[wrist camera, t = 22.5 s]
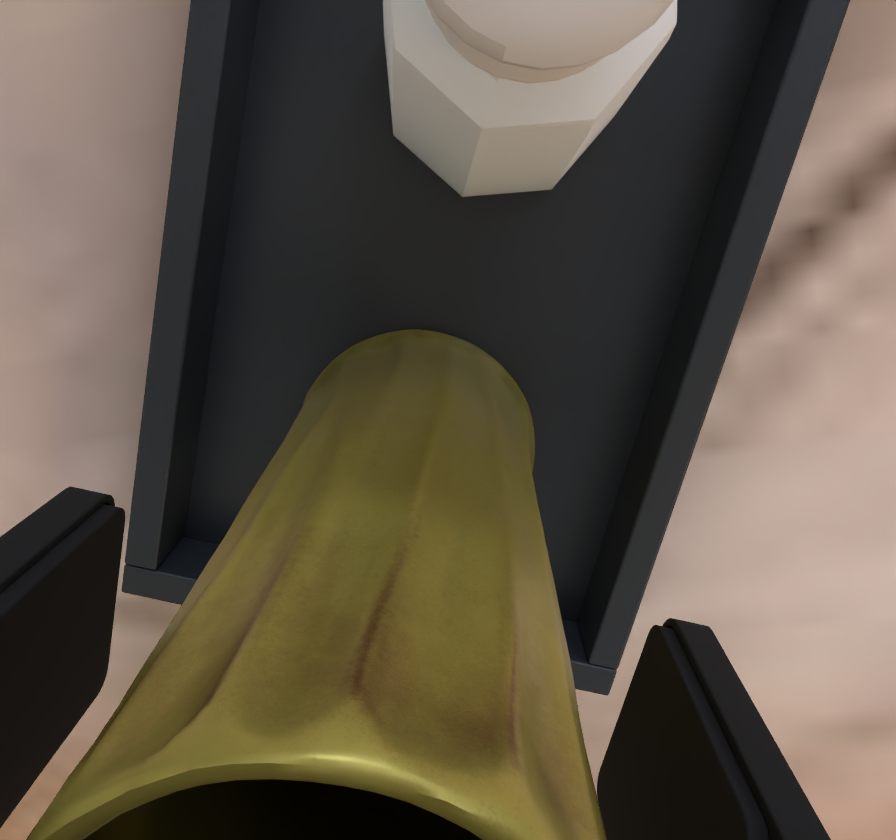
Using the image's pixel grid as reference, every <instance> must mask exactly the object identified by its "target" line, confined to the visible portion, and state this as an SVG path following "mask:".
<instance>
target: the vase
mask: <svg viewBox="0 0 896 840" xmlns="http://www.w3.org/2000/svg"><path fill="white" fill-rule="evenodd" d="M534 456H535V437H534V426H533V421H532V416H531V412H530V409H529V406H528V403H527V401H526V399H525V397H524V395H523V393H522V391H521V390H520V388H519V387H518V385H517V383H516V382H515V381H514V380H513V378H512V377H511V376H510V374H509V373H508V372H507V371H506V370H505V369H504V368H503V366H502V365H501V364H500V363H498V362H497V361H496V360H495V359H494V358H493V357H492V356H490V355H489V354H488V353H486V352H485V351H484V350H482V349H480V348H479V347H477V346H475V345H474V344H472V343H470V342H468V341H466V340H463V339H460V338H458V337H455V336H452V335H448V334H445V333H441V332H436V331H430V330H420V329H409V330H399V331H393V332H388V333H384V334H380V335H377V336H374V337H371V338H368V339H366V340H363V341H361V342H359V343H357V344H355V345H353V346H351V347H350V348H348V349H347V350H345V351H344V352H343V353H341V354H340V355H339V356H337V357H336V358H335V359H334V360H332V361H331V362H330V364H329V365H328V366H327V367H326V368H325V369H324V370H323V371H322V373H321V374H320V375H319V376H318V378H317V379H316V380H315V382H314V383H313V385H312V386H311V388H310V389H309V391H308V392H307V394H306V397H305V399H304V402H303V406H302V409H301V411H300V413H299V414H298V416H297V418H296V420H295V421H294V423H293V425H292V427H291V428H290V430H289V432H288V434H287V436H286V438H285V439H284V441H283V443H282V444H281V446H280V447H279V449H278V450H277V452H276V454H275V455H274V457H273V458H272V460H271V461H270V463H269V464H268V466H267V468H266V469H265V471H264V472H263V474H262V476H261V477H260V479H259V480H258V482H257V483H256V485H255V487H254V488H253V490H252V491H251V493H250V495H249V496H248V498H247V500H246V501H245V503H244V505H243V506H242V508H241V510H240V511H239V513H238V515H237V516H236V518H235V520H234V522H233V523H232V525H231V527H230V529H229V530H228V532H227V534H226V535H225V537H224V539H223V540H222V542H221V543H220V545H219V547H218V548H217V550H216V551H215V553H214V554H213V556H212V557H211V559H210V560H209V562H208V563H207V565H206V566H205V568H204V570H203V571H202V573H201V574H200V576H199V578H198V579H197V581H196V583H195V584H194V586H193V588H192V589H191V591H190V593H189V594H188V596H187V598H186V599H185V601H184V602H183V604H182V606H181V607H180V609H179V610H178V612H177V614H176V615H175V617H174V618H173V620H172V622H171V623H170V625H169V626H168V628H167V630H166V631H165V633H164V634H163V636H162V637H161V639H160V641H159V642H158V644H157V645H156V647H155V648H154V650H153V651H152V653H151V655H150V656H149V658H148V659H147V661H146V662H145V664H144V665H143V667H142V669H141V670H140V672H139V673H138V675H137V676H136V678H135V680H134V681H133V683H132V685H131V686H130V688H129V690H128V691H127V693H126V695H125V696H124V698H123V700H122V701H121V703H120V705H119V706H118V708H117V709H116V711H115V712H114V714H113V715H112V717H111V718H110V719H109V721H108V722H107V724H106V725H105V727H104V728H103V730H102V731H101V733H100V735H99V736H98V738H97V739H96V741H95V742H94V744H93V745H92V746H91V748H90V749H89V750H88V752H87V753H86V754H85V756H84V757H83V758H82V760H81V761H80V762H79V764H78V765H77V766H76V768H75V769H74V770H73V772H72V773H71V774H70V775H69V777H68V778H67V780H66V781H65V783H64V784H63V786H62V787H61V789H60V791H59V792H58V794H57V795H56V797H55V798H54V800H53V801H52V803H51V804H50V806H49V807H48V808H47V810H46V811H45V813H44V814H43V816H42V817H41V819H40V820H39V822H38V823H37V824H36V826H35V827H34V829H33V830H32V832H31V833H30V835H29V836H28V838H27V839H26V840H606V836H605V831H604V826H603V822H602V817H601V812H600V808H599V804H598V800H597V795H596V791H595V787H594V783H593V779H592V774H591V770H590V766H589V762H588V758H587V753H586V749H585V744H584V739H583V734H582V729H581V724H580V718H579V712H578V705H577V699H576V692H575V685H574V679H573V673H572V667H571V662H570V657H569V652H568V647H567V642H566V638H565V633H564V628H563V624H562V619H561V614H560V609H559V604H558V599H557V594H556V589H555V584H554V579H553V574H552V569H551V565H550V560H549V556H548V551H547V546H546V542H545V536H544V530H543V525H542V521H541V517H540V512H539V508H538V503H537V497H536V492H535V486H534V481H533V475H532V472H533V466H534Z"/></svg>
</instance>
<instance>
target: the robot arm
mask: <svg viewBox="0 0 896 840" xmlns="http://www.w3.org/2000/svg"><path fill="white" fill-rule="evenodd" d="M124 525H125V511H124V510H123V508H119V507H115V503H114V499H113V497H112V496H111V495H107V494H102V493H98V492H93V491H89V490H84V489H79V488H75V487H68V488H66V489H65V490H63V491H62V492H61V493H59V494H58V495H56V496H55V497H54V498H52V499H51V500H50V501H48V502H47V503H46V504H44V505H43V506H42V507H40V508H39V509H38V510H36V511H35V512H34V513H32V514H31V515H29V516H28V517H27V518H25V519H24V520H23V521H21V522H20V523H19V524H17V525H16V526H15V527H13V528H12V529H11V530H9V531H8V532H6V533H5V534H4V535H2V536H1V537H0V828H1V826H2V825H3V824H4V822H5V821H6V820H7V818H8V817H9V816H10V814H11V813H12V811H13V810H14V809H15V807H16V806H17V805H18V803H19V802H20V801H21V799H22V798H23V796H24V795H25V794H26V792H27V791H28V790H29V788H30V787H31V785H32V784H33V783H34V781H35V780H36V779H37V777H38V776H39V775H40V773H41V772H42V770H43V769H44V768H45V766H46V765H47V764H48V762H49V761H50V760H51V758H52V757H53V755H54V754H55V753H56V751H57V750H58V749H59V747H60V746H61V744H62V743H63V742H64V740H65V739H66V738H67V736H68V735H69V734H70V732H71V731H72V729H73V728H74V727H75V725H76V724H77V723H78V721H79V720H80V719H81V717H82V716H83V714H84V713H85V712H86V710H87V709H88V708H89V706H90V705H91V703H92V702H93V701H94V699H95V698H96V697H97V695H98V693H99V692H100V690H101V688H102V686H103V683H104V681H105V678H106V674H107V670H108V664H109V655H110V646H111V637H112V629H113V620H114V611H115V603H116V594H117V585H118V577H119V568H120V559H121V551H122V542H123V533H124ZM597 797H598V803H599V807H600V812H601V816H602V821H603V825H604V830H605V835H606V839H607V840H831V839H830V838H829V836H828V834H827V832H826V831H825V829H824V827H823V825H822V823H821V822H820V820H819V818H818V816H817V815H816V813H815V811H814V809H813V808H812V806H811V804H810V802H809V801H808V799H807V797H806V795H805V793H804V792H803V790H802V788H801V786H800V785H799V783H798V781H797V779H796V778H795V776H794V774H793V772H792V771H791V769H790V767H789V765H788V763H787V762H786V760H785V758H784V756H783V755H782V753H781V751H780V749H779V748H778V746H777V744H776V742H775V741H774V739H773V737H772V735H771V733H770V732H769V730H768V728H767V726H766V725H765V723H764V721H763V719H762V718H761V716H760V714H759V712H758V711H757V709H756V707H755V705H754V703H753V702H752V700H751V698H750V696H749V695H748V693H747V691H746V689H745V688H744V686H743V684H742V682H741V681H740V679H739V677H738V675H737V673H736V672H735V670H734V668H733V666H732V665H731V663H730V661H729V659H728V658H727V656H726V654H725V652H724V650H723V649H722V647H721V645H720V643H719V642H718V640H717V638H716V636H715V635H714V633H713V631H712V630H711V629H710V627H708V626H704V625H700V624H695V623H690V622H686V621H681V620H677V619H672V618H670V619H668V620H666V622H665V623H664V624H663V626H658V625H654V626H653V627H652V628H651V630H650V632H649V634H648V636H647V639H646V642H645V645H644V648H643V650H642V653H641V656H640V659H639V662H638V664H637V667H636V670H635V673H634V676H633V678H632V681H631V684H630V687H629V690H628V692H627V695H626V698H625V701H624V704H623V707H622V709H621V712H620V715H619V718H618V721H617V723H616V726H615V729H614V732H613V735H612V737H611V740H610V743H609V746H608V749H607V751H606V754H605V757H604V760H603V763H602V765H601V768H600V772H599V776H598V782H597Z"/></svg>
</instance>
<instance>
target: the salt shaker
mask: <svg viewBox="0 0 896 840" xmlns="http://www.w3.org/2000/svg"><path fill="white" fill-rule="evenodd" d="M383 21H384V40H385V51H386V62H387V72H388V83H389V94H390V105H391V115H392V126H393V135H394V136H395V137H396V138H397V139H398V140H399V141H400V142H401V143H402V144H404V145H405V146H406V147H407V148H408V149H409V150H410V151H411V152H413V153H414V154H415V155H416V156H417V157H418V158H419V159H420V160H421V161H423V162H424V163H425V164H426V165H427V166H428V167H429V168H430V169H432V170H433V171H434V172H435V173H436V174H437V175H438V176H439V177H440V178H442V179H443V180H444V181H445V182H446V183H447V184H448V185H449V186H451V187H452V188H453V189H454V190H455V191H456V192H457V193H458V194H459V195H461V196H462V197H468V196H480V195H492V194H504V193H517V192H529V191H541V190H552V188H553V187H554V186H555V185H556V184H557V183H558V181H559V180H560V179H561V178H562V177H563V176H564V174H565V173H566V172H567V171H568V170H569V169H570V167H571V166H572V165H573V164H574V163H575V162H576V160H577V159H578V158H579V157H580V156H581V155H582V153H583V152H584V151H585V150H586V149H587V148H588V146H589V145H590V144H591V143H592V142H593V141H594V139H595V138H596V137H597V136H598V135H599V134H600V132H601V131H602V130H603V129H604V128H605V127H606V125H607V124H608V123H609V122H610V121H611V120H612V118H613V117H614V116H615V115H616V113H617V112H618V110H619V109H620V108H621V106H622V105H623V103H624V102H625V101H626V99H627V98H628V96H629V95H630V94H631V92H632V91H633V89H634V88H635V86H636V85H637V84H638V82H639V81H640V79H641V78H642V77H643V75H644V74H645V72H646V71H647V70H648V68H649V67H650V65H651V64H652V63H653V61H654V60H655V58H656V57H657V55H658V54H659V53H660V51H661V50H662V48H663V47H664V46H665V44H666V43H667V41H668V40H669V38H670V36H671V34H672V32H673V30H674V28H675V26H676V23H677V0H383Z"/></svg>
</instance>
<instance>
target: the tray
mask: <svg viewBox="0 0 896 840" xmlns="http://www.w3.org/2000/svg"><path fill="white" fill-rule="evenodd" d="M849 2H850V0H677V23H676V26H675V28H674V30H673V32H672V34H671V36H670V38H669V40H668V41H667V43H666V44H665V46H664V47H663V48H662V50H661V51H660V53H659V54H658V55H657V57H656V58H655V60H654V61H653V63H652V64H651V65H650V67H649V68H648V70H647V71H646V72H645V74H644V75H643V77H642V78H641V79H640V81H639V82H638V84H637V85H636V86H635V88H634V89H633V91H632V92H631V94H630V95H629V96H628V98H627V99H626V101H625V102H624V103H623V105H622V106H621V108H620V109H619V110H618V112H617V113H616V115H615V116H614V117H613V118H612V120H611V121H610V122H609V123H608V124H607V125H606V127H605V128H604V129H603V130H602V131H601V132H600V134H599V135H598V136H597V137H596V138H595V139H594V141H593V142H592V143H591V144H590V145H589V146H588V148H587V149H586V150H585V151H584V152H583V153H582V155H581V156H580V157H579V158H578V159H577V160H576V162H575V163H574V164H573V165H572V166H571V167H570V169H569V170H568V171H567V172H566V173H565V174H564V176H563V177H562V178H561V179H560V180H559V181H558V183H557V184H556V185H555V186H554V187H553V188H552V190H541V191H529V192H517V193H504V194H492V195H480V196H468V197H462V196H461V195H459V194H458V193H457V192H456V191H455V190H454V189H453V188H452V187H451V186H449V185H448V184H447V183H446V182H445V181H444V180H443V179H442V178H440V177H439V176H438V175H437V174H436V173H435V172H434V171H433V170H432V169H430V168H429V167H428V166H427V165H426V164H425V163H424V162H423V161H421V160H420V159H419V158H418V157H417V156H416V155H415V154H414V153H413V152H411V151H410V150H409V149H408V148H407V147H406V146H405V145H404V144H402V143H401V142H400V141H399V140H398V139H397V138H396V137H395V136H394V135H393V126H392V115H391V105H390V94H389V83H388V72H387V62H386V51H385V40H384V21H383V0H191V4H190V12H189V21H188V29H187V38H186V46H185V55H184V63H183V72H182V80H181V89H180V97H179V106H178V114H177V123H176V131H175V140H174V148H173V157H172V165H171V174H170V182H169V191H168V199H167V208H166V216H165V225H164V233H163V242H162V250H161V259H160V267H159V276H158V284H157V293H156V301H155V310H154V318H153V327H152V335H151V344H150V352H149V361H148V369H147V378H146V386H145V395H144V403H143V412H142V420H141V429H140V437H139V446H138V454H137V463H136V471H135V480H134V488H133V497H132V505H131V514H130V522H129V531H128V539H127V548H126V556H125V563H126V564H125V566H124V574H123V583H122V592H125V593H129V594H134V595H139V596H143V597H148V598H153V599H157V600H162V601H167V602H171V603H176V604H181V605H182V604H183V602H184V601H185V599H186V598H187V596H188V594H189V593H190V591H191V589H192V588H193V586H194V584H195V583H196V581H197V579H198V578H199V576H200V574H201V573H202V571H203V570H204V568H205V566H206V565H207V563H208V562H209V560H210V559H211V557H212V556H213V554H214V553H215V551H216V550H217V548H218V547H219V545H220V543H221V542H222V540H223V539H224V537H225V535H226V534H227V532H228V530H229V529H230V527H231V525H232V523H233V522H234V520H235V518H236V516H237V515H238V513H239V511H240V510H241V508H242V506H243V505H244V503H245V501H246V500H247V498H248V496H249V495H250V493H251V491H252V490H253V488H254V487H255V485H256V483H257V482H258V480H259V479H260V477H261V476H262V474H263V472H264V471H265V469H266V468H267V466H268V464H269V463H270V461H271V460H272V458H273V457H274V455H275V454H276V452H277V450H278V449H279V447H280V446H281V444H282V443H283V441H284V439H285V438H286V436H287V434H288V432H289V430H290V428H291V427H292V425H293V423H294V421H295V420H296V418H297V416H298V414H299V413H300V411H301V409H302V406H303V402H304V399H305V397H306V394H307V392H308V391H309V389H310V388H311V386H312V385H313V383H314V382H315V380H316V379H317V378H318V376H319V375H320V374H321V373H322V371H323V370H324V369H325V368H326V367H327V366H328V365H329V364H330V362H331V361H332V360H334V359H335V358H336V357H337V356H339V355H340V354H341V353H343V352H344V351H345V350H347V349H348V348H350V347H351V346H353V345H355V344H357V343H359V342H361V341H363V340H366V339H368V338H371V337H374V336H377V335H380V334H384V333H388V332H393V331H399V330H409V329H420V330H430V331H436V332H441V333H445V334H448V335H452V336H455V337H458V338H460V339H463V340H466V341H468V342H470V343H472V344H474V345H475V346H477V347H479V348H480V349H482V350H484V351H485V352H486V353H488V354H489V355H490V356H492V357H493V358H494V359H495V360H496V361H497V362H498V363H500V364H501V365H502V366H503V368H504V369H505V370H506V371H507V372H508V373H509V374H510V376H511V377H512V378H513V380H514V381H515V382H516V383H517V385H518V387H519V388H520V390H521V391H522V393H523V395H524V397H525V399H526V401H527V403H528V406H529V409H530V412H531V416H532V421H533V426H534V437H535V456H534V466H533V472H532V475H533V481H534V486H535V492H536V497H537V503H538V508H539V512H540V517H541V521H542V525H543V530H544V536H545V542H546V546H547V551H548V556H549V560H550V565H551V569H552V574H553V579H554V584H555V589H556V594H557V599H558V604H559V609H560V614H561V619H562V624H563V628H564V633H565V638H566V642H567V647H568V652H569V657H570V662H571V667H572V673H573V679H574V685H575V689H579V690H584V691H589V692H593V693H598V694H603V695H608V694H609V692H610V689H611V687H612V684H613V681H614V678H615V675H616V672H617V671H616V669H617V668H618V666H619V663H620V660H621V658H622V655H623V652H624V649H625V646H626V643H627V640H628V637H629V635H630V632H631V629H632V626H633V623H634V620H635V617H636V614H637V612H638V609H639V606H640V603H641V600H642V597H643V594H644V591H645V589H646V586H647V583H648V580H649V577H650V574H651V571H652V569H653V566H654V563H655V560H656V557H657V554H658V551H659V548H660V546H661V543H662V540H663V537H664V534H665V531H666V528H667V525H668V523H669V520H670V517H671V514H672V511H673V508H674V505H675V502H676V500H677V497H678V494H679V491H680V488H681V485H682V482H683V479H684V477H685V474H686V471H687V468H688V465H689V462H690V459H691V456H692V454H693V451H694V448H695V445H696V442H697V439H698V436H699V433H700V431H701V428H702V425H703V422H704V419H705V416H706V413H707V410H708V408H709V405H710V402H711V399H712V396H713V393H714V390H715V387H716V385H717V382H718V379H719V376H720V373H721V370H722V367H723V364H724V362H725V359H726V356H727V353H728V350H729V347H730V344H731V341H732V339H733V336H734V333H735V330H736V327H737V324H738V321H739V318H740V316H741V313H742V310H743V307H744V304H745V301H746V298H747V295H748V293H749V290H750V287H751V284H752V281H753V278H754V275H755V272H756V270H757V267H758V264H759V261H760V258H761V255H762V252H763V249H764V247H765V244H766V241H767V238H768V235H769V232H770V229H771V226H772V224H773V221H774V218H775V215H776V212H777V209H778V206H779V203H780V201H781V198H782V195H783V192H784V189H785V186H786V183H787V180H788V178H789V175H790V172H791V169H792V166H793V163H794V160H795V157H796V155H797V152H798V149H799V146H800V143H801V140H802V137H803V134H804V132H805V129H806V126H807V123H808V120H809V117H810V114H811V111H812V109H813V106H814V103H815V100H816V97H817V94H818V91H819V88H820V86H821V83H822V80H823V77H824V74H825V71H826V68H827V65H828V63H829V60H830V57H831V54H832V51H833V48H834V45H835V42H836V40H837V37H838V34H839V31H840V28H841V25H842V22H843V19H844V17H845V14H846V11H847V8H848V5H849Z"/></svg>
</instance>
